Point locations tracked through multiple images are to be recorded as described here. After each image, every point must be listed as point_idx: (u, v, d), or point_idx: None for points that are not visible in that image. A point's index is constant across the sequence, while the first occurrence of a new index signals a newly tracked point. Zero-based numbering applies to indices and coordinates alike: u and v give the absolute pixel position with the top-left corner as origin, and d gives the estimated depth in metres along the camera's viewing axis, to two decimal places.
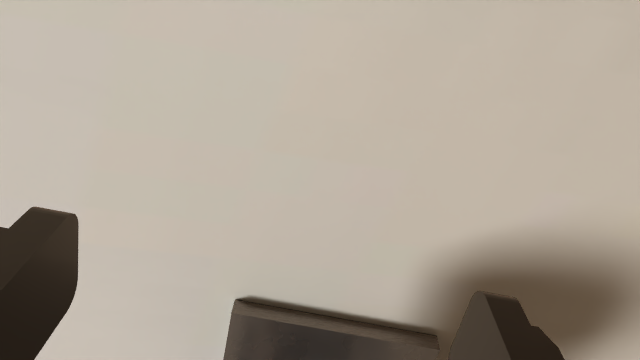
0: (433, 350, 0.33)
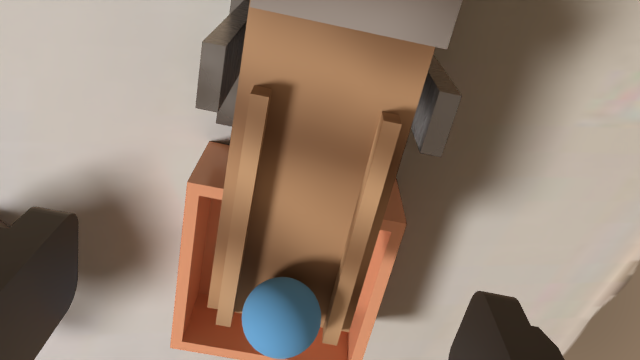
0: None
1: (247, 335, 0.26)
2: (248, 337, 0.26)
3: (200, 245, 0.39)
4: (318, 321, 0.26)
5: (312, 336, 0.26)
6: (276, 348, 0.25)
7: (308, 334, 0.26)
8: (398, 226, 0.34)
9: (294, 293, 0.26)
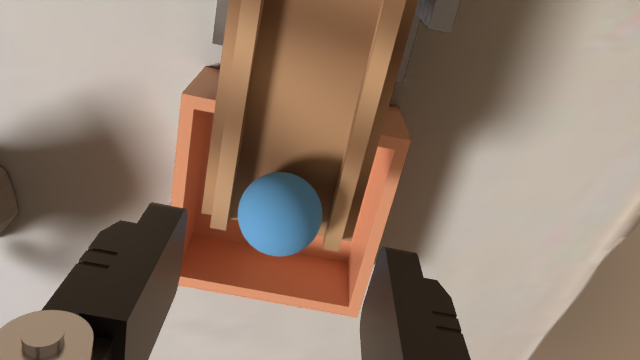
0: None
1: (243, 228, 0.24)
2: (244, 230, 0.24)
3: (195, 174, 0.37)
4: (319, 215, 0.25)
5: (312, 229, 0.24)
6: (274, 239, 0.24)
7: (309, 226, 0.24)
8: (402, 143, 0.33)
9: (294, 183, 0.24)
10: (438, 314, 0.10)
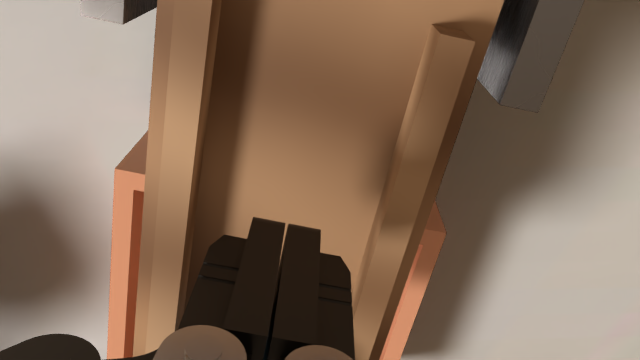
0: None
1: None
2: None
3: None
4: None
5: None
6: None
7: None
8: (434, 237, 0.23)
9: None
10: (332, 287, 0.10)
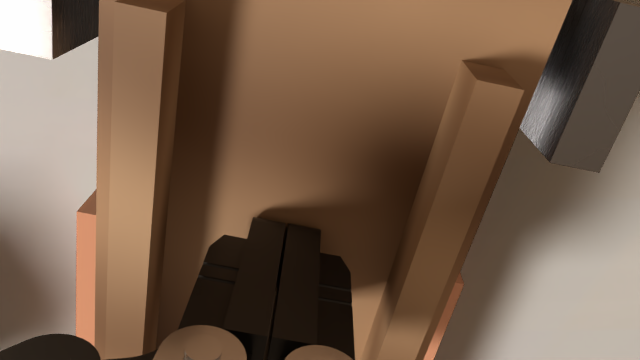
0: None
1: None
2: None
3: None
4: None
5: None
6: None
7: None
8: None
9: None
10: (332, 287, 0.10)
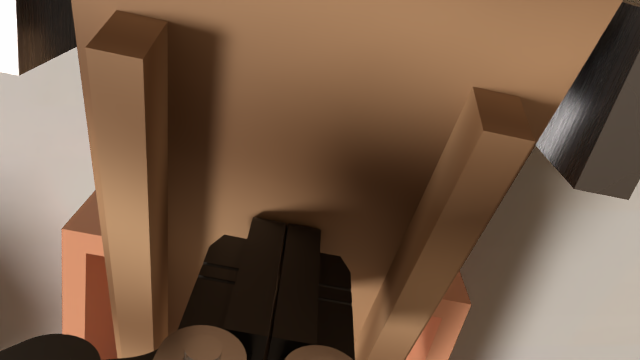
0: None
1: None
2: None
3: None
4: None
5: None
6: None
7: None
8: (455, 309, 0.19)
9: None
10: (332, 287, 0.10)
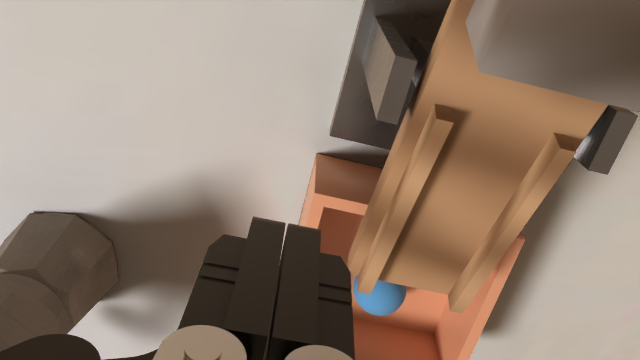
0: None
1: None
2: None
3: None
4: None
5: None
6: None
7: None
8: (516, 242, 0.35)
9: None
10: (332, 287, 0.10)
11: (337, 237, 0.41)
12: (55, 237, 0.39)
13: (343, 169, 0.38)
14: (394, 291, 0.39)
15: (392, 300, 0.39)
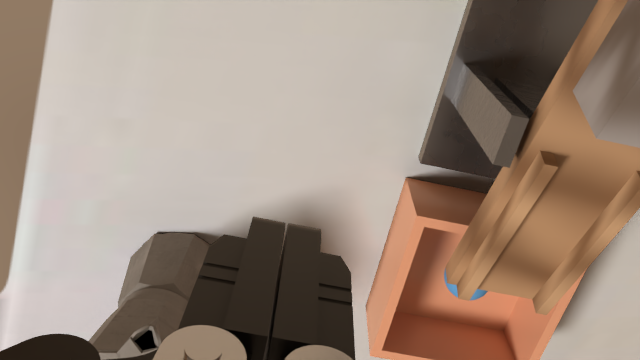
0: None
1: None
2: None
3: None
4: None
5: None
6: None
7: None
8: None
9: None
10: (332, 287, 0.10)
11: (422, 248, 0.47)
12: (182, 255, 0.45)
13: (432, 191, 0.44)
14: None
15: None
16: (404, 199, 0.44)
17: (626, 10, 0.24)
